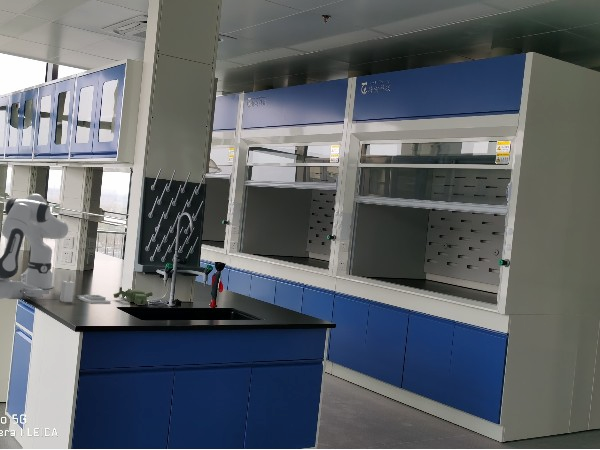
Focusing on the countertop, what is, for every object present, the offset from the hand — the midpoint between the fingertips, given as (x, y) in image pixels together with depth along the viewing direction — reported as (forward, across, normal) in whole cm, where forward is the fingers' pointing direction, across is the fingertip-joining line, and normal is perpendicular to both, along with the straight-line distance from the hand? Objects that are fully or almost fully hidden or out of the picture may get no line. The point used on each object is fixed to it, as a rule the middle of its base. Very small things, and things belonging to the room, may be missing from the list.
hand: (44, 290), depth 339 cm
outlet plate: (+27, 0, +6) cm, 28 cm away
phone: (+28, +8, +6) cm, 30 cm away
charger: (+12, 0, +6) cm, 13 cm away
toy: (+49, -1, +6) cm, 50 cm away
